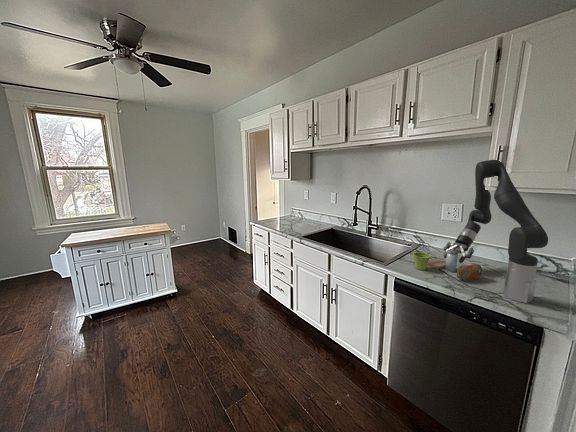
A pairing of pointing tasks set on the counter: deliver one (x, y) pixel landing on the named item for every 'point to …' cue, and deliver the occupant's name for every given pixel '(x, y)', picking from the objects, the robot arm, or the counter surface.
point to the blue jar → (451, 260)
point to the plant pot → (421, 260)
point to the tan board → (437, 263)
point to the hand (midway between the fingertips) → (452, 259)
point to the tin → (469, 272)
